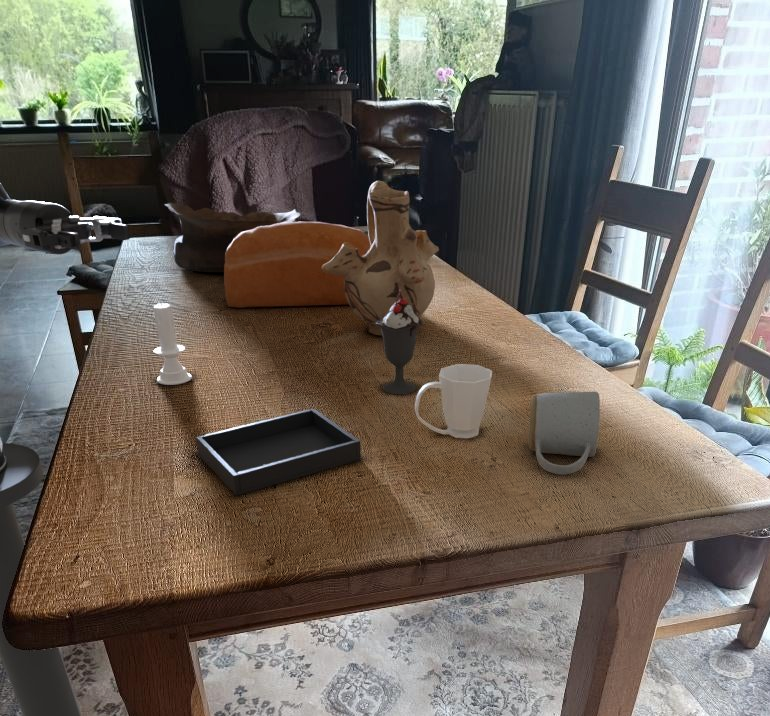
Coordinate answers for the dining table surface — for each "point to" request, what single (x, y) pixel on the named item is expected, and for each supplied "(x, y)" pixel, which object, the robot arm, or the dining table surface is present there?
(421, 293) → the ceramic vessel
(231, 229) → the bowl
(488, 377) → the cup
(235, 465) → the tray
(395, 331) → the sundae
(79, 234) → the robot arm
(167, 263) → the dining table surface
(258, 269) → the bread
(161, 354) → the candle
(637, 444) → the dining table surface
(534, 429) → the ceramic mug
